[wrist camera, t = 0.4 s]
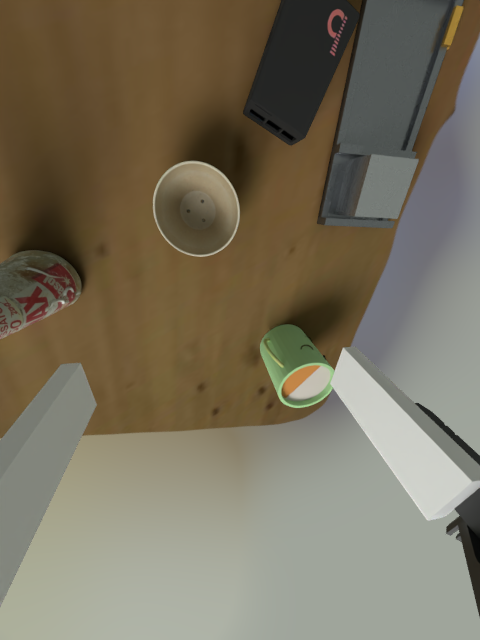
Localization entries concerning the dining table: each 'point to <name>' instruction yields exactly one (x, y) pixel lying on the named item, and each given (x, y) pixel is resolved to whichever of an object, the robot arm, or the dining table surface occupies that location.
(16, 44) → the dining table surface
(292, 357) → the mug
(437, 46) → the dark gray tray
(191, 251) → the flower pot
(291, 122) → the electronic device
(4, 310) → the bottle
